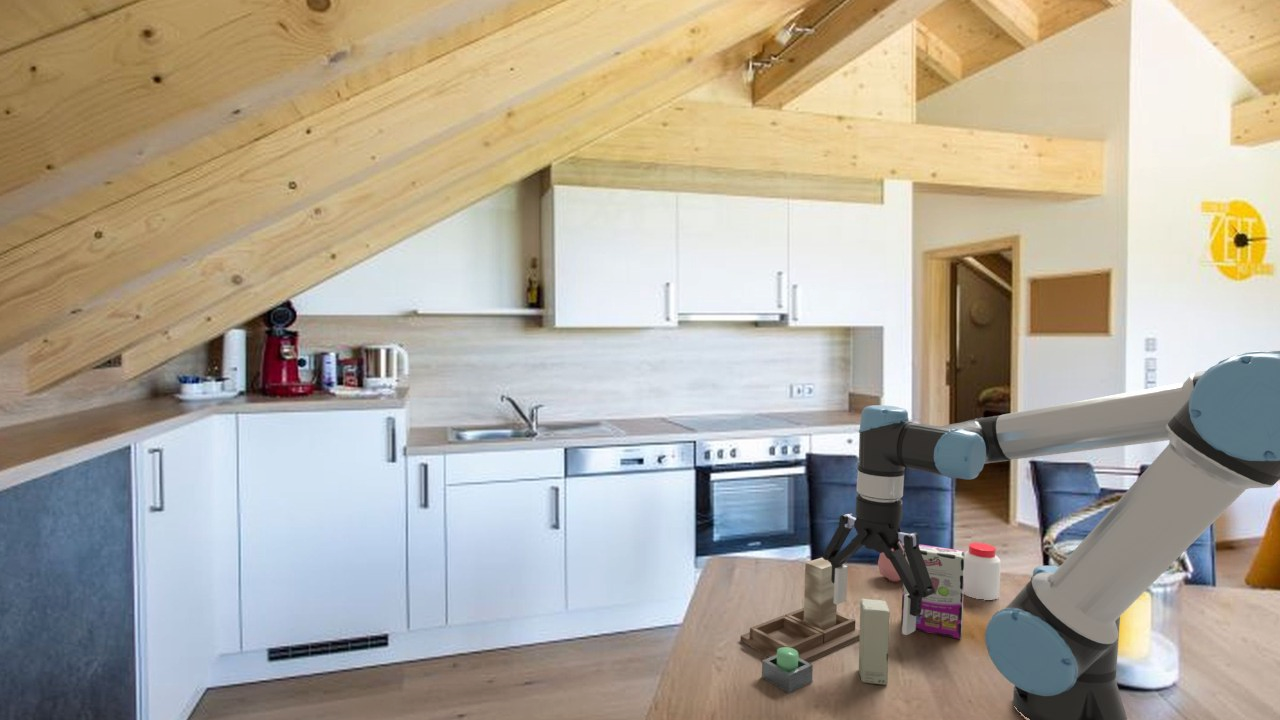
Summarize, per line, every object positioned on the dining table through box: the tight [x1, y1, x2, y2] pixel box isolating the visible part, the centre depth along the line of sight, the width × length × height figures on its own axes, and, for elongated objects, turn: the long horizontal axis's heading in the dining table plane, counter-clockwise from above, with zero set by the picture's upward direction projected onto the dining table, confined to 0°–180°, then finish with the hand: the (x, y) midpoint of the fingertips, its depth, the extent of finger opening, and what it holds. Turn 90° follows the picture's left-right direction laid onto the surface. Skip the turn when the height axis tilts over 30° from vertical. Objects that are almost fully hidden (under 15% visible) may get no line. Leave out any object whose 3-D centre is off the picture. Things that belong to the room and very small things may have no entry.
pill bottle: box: [963, 542, 1002, 601], centre depth 153 cm, size 8×8×11 cm
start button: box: [777, 647, 798, 672], centre depth 115 cm, size 4×4×4 cm
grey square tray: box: [761, 654, 814, 694], centre depth 115 cm, size 6×6×3 cm
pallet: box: [739, 557, 860, 663], centre depth 130 cm, size 13×21×14 cm, turn 127°
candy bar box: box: [900, 543, 966, 640], centre depth 135 cm, size 11×5×16 cm, turn 62°
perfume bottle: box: [877, 540, 904, 582], centre depth 161 cm, size 8×8×12 cm
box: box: [858, 598, 891, 686], centre depth 116 cm, size 5×4×13 cm
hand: (872, 616), depth 116 cm, fingers open, 13 cm apart
